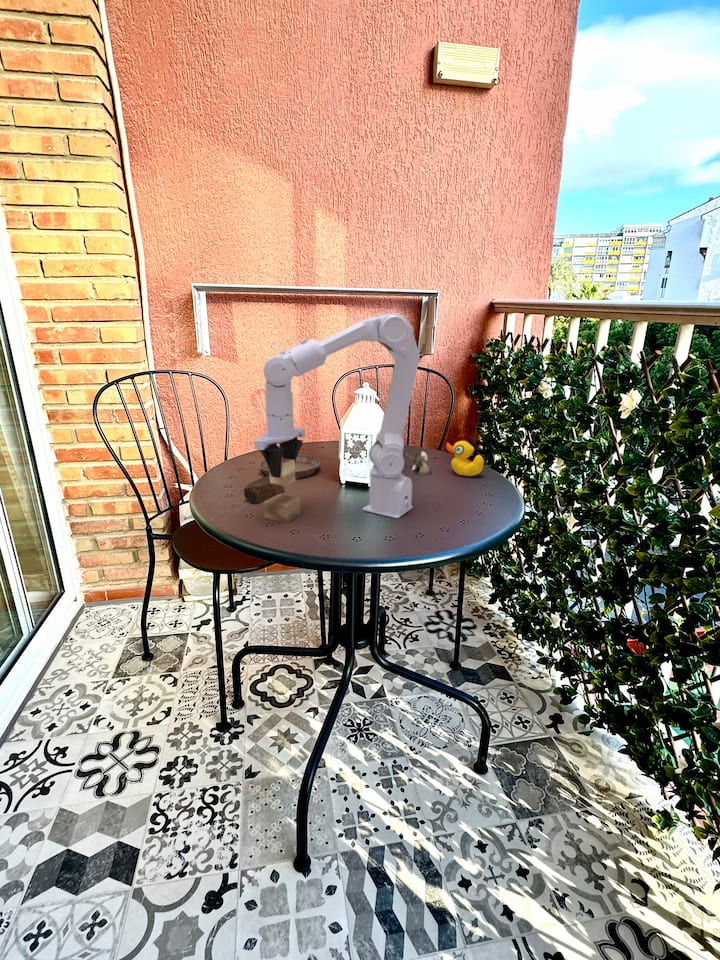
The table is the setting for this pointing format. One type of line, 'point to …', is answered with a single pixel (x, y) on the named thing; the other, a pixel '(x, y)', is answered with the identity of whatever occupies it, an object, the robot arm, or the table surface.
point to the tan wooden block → (282, 508)
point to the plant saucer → (298, 466)
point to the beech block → (285, 473)
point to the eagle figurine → (420, 463)
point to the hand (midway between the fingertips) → (282, 474)
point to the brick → (262, 490)
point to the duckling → (465, 459)
